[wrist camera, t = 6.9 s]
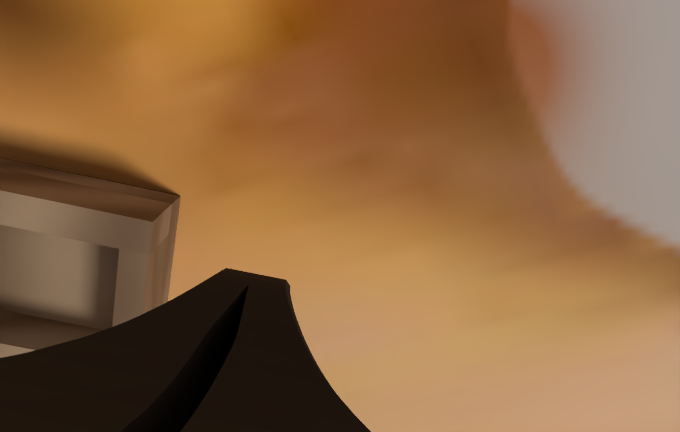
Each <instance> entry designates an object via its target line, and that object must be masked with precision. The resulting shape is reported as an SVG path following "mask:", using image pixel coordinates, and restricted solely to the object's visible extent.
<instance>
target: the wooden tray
mask: <svg viewBox="0 0 680 432" xmlns="http://www.w3.org/2000/svg"><path fill="white" fill-rule="evenodd" d="M179 204H180V196H178V195H173V194H168V193H163V192H159V191H154V190H149V189H144V188H140V187H135V186H130V185H125V184H121V183H116V182H111V181H106V180H102V179H97V178H92V177H87V176H83V175H78V174H73V173H68V172H64V171H59V170H54V169H49V168H45V167H40V166H35V165H30V164H26V163H21V162H16V161H12V160H7V159H2V158H0V358H3V357H8V356H13V355H17V354H22V353H27V352H31V351H34V350H38V349H42V348H45V347H49V346H53V345H57V344H60V343H64V342H68V341H71V340H75V339H79V338H82V337H85V336H88V335H91V334H94V333H97V332H100V331H102V330H105V329H108V328H111V327H113V326H116V325H119V324H121V323H124V322H126V321H129V320H131V319H133V318H135V317H138V316H140V315H142V314H144V313H146V312H148V311H150V310H152V309H154V308H156V307H158V306H160V305H162V304H164V303H166V302H167V300H168V292H169V284H170V276H171V268H172V260H173V252H174V244H175V236H176V228H177V220H178V212H179Z"/></svg>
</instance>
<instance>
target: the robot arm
mask: <svg viewBox="0 0 680 432" xmlns="http://www.w3.org/2000/svg"><path fill="white" fill-rule="evenodd" d="M0 432H371V431H370V430H369V429H368V428H367V427H366V426H365V425H364V424H363V423H362V422H361V421H360V420H359V419H358V418H357V417H356V416H355V415H354V414H353V413H352V411H351V410H350V409H349V408H348V407H347V406H346V405H345V403H344V402H343V401H342V400H341V399H340V398H339V396H338V395H337V394H336V393H335V391H334V390H333V389H332V387H331V386H330V384H329V383H328V381H327V380H326V378H325V377H324V375H323V373H322V372H321V370H320V368H319V367H318V365H317V363H316V361H315V360H314V358H313V356H312V354H311V352H310V350H309V348H308V346H307V344H306V341H305V339H304V337H303V335H302V332H301V329H300V327H299V324H298V321H297V319H296V316H295V313H294V309H293V305H292V301H291V296H290V285H289V284H288V282H287V281H286V280H284V279H279V278H274V277H269V276H264V275H259V274H254V273H248V272H243V271H238V270H233V269H228V268H226V269H224V270H222V271H220V272H219V273H217V274H215V275H214V276H212V277H210V278H209V279H207V280H205V281H204V282H202V283H200V284H199V285H197V286H195V287H194V288H192V289H190V290H189V291H187V292H185V293H183V294H182V295H180V296H178V297H176V298H174V299H173V300H171V301H168V302H166V303H164V304H162V305H160V306H158V307H156V308H154V309H152V310H150V311H148V312H146V313H144V314H142V315H140V316H138V317H135V318H133V319H131V320H129V321H126V322H124V323H121V324H119V325H116V326H113V327H111V328H108V329H105V330H102V331H100V332H97V333H94V334H91V335H88V336H85V337H82V338H79V339H75V340H71V341H68V342H64V343H60V344H57V345H53V346H49V347H45V348H42V349H38V350H34V351H31V352H27V353H22V354H17V355H13V356H8V357H3V358H0Z"/></svg>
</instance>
